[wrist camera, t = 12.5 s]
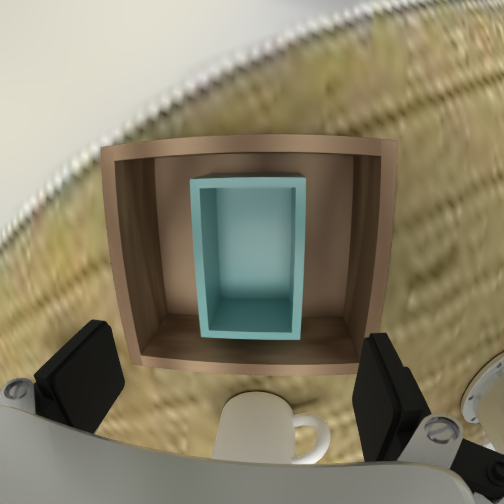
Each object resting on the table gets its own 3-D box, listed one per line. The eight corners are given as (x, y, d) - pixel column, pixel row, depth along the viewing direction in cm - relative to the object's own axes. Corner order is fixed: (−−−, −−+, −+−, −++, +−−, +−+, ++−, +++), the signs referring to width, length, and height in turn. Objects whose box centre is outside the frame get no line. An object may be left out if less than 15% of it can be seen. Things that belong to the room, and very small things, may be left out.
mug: (316, 371, 31) (326, 448, 21) (332, 420, 33) (343, 490, 23) (210, 396, 33) (190, 468, 23) (238, 440, 35) (228, 506, 25)
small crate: (298, 172, 24) (306, 177, 18) (295, 302, 27) (299, 339, 22) (209, 173, 25) (189, 179, 19) (215, 301, 28) (201, 336, 22)
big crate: (362, 144, 24) (396, 140, 16) (350, 321, 29) (370, 372, 21) (147, 147, 25) (100, 147, 18) (162, 317, 30) (131, 364, 22)
